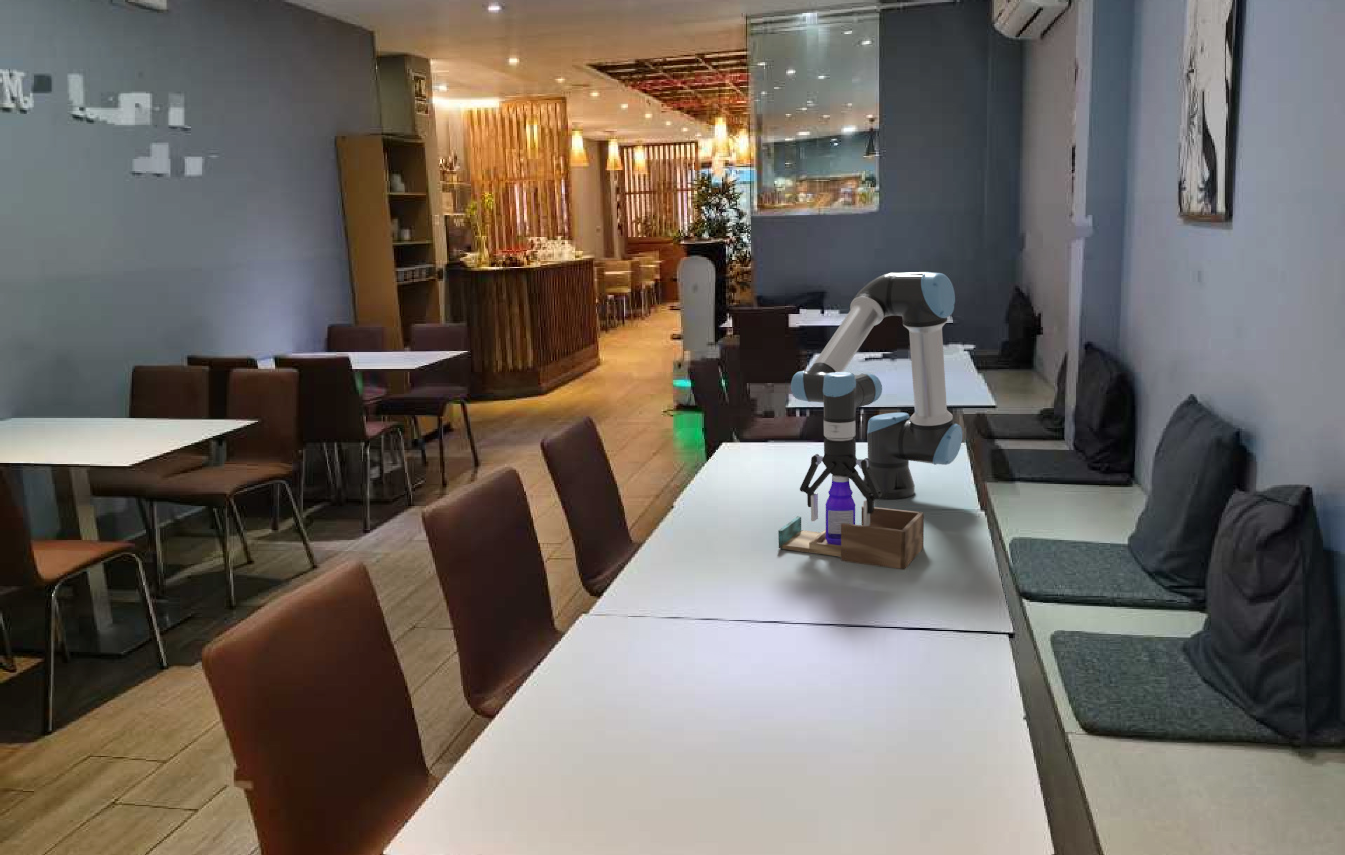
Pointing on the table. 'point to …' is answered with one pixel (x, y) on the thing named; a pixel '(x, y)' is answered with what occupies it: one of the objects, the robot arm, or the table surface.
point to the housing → (884, 538)
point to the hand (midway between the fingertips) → (840, 523)
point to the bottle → (839, 508)
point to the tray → (805, 540)
